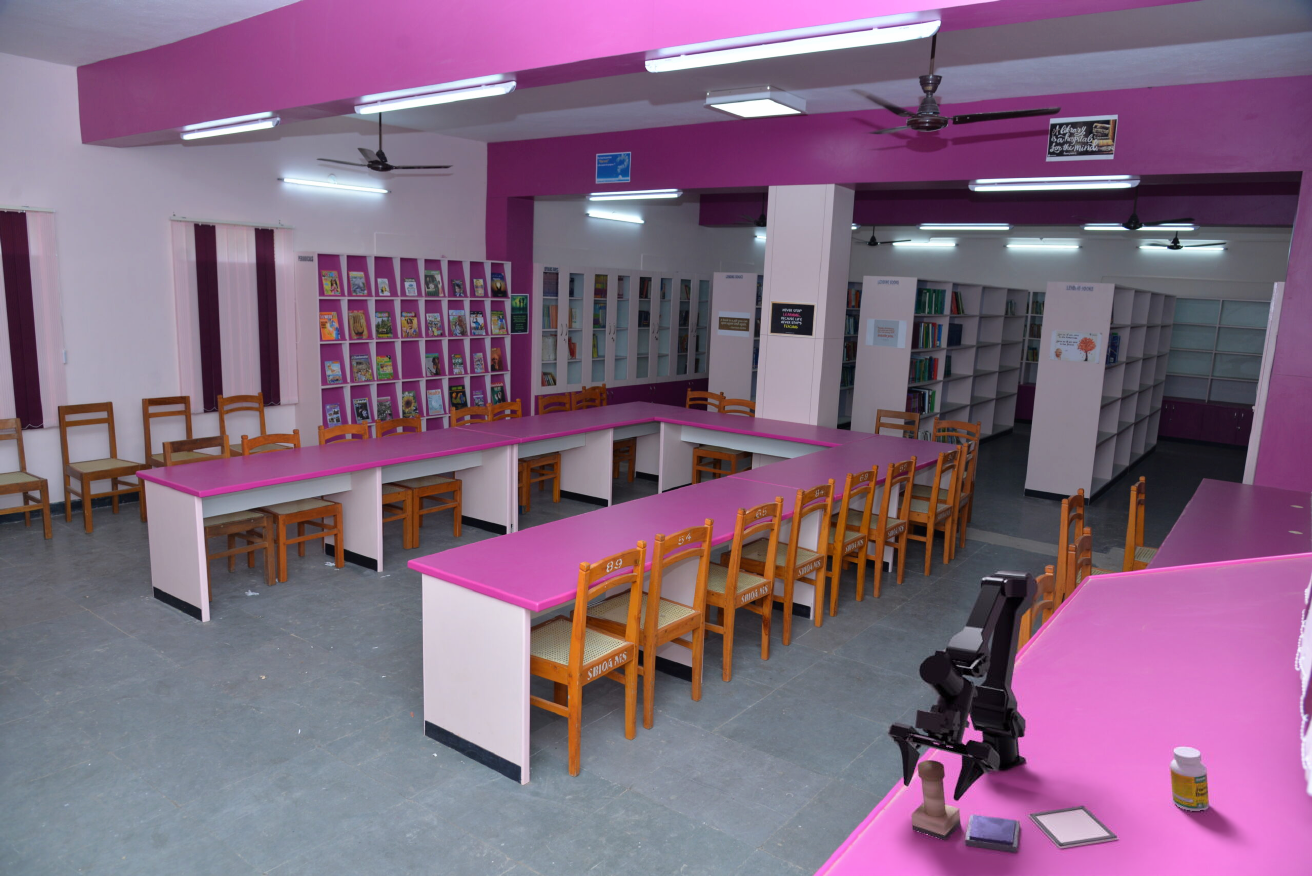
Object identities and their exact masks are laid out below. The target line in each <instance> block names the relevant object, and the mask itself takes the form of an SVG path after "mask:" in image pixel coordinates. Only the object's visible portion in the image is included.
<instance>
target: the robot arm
mask: <svg viewBox="0 0 1312 876" xmlns="http://www.w3.org/2000/svg"><path fill="white" fill-rule="evenodd" d="M1038 587H1039V586H1038V580H1037V579H1036V578H1033V575H1032V574H1031V573H1030V572H1026V571H1025V572H1024V571H1015V570H1014V571H1013V570H1004V569H1003V570H1002V569H1001V570H998V571H997V572H995V573H993V574H989V575H988V574H987V575H986V576H984V577H983V578H982V579H981V581H980V591H979V592H978V596H977V597H976V600H975V602H974V605H973V607H972V610H971V611H970V614H969V615H968V618H967V620H966V623H965V625H964V628H963V629H962V630H961V631H960V632H957V634H955V635H953V636H952V637H951V639H950V641H949V642H948V644H947V646H946V647H945V648H944V649H943V650H942V649H941V650H940V649H936V650H935V653H934V654H932V655H930V656H928V657H926V658H925V659H924V660H923V661H922V663H920V665H919V676H920V678H921V680H922V681H923V682H924V683H925V684H926V685H927V686H928V687H929V688H930V690H931V691H932V692H933V693H934V694H935V695H937V696H938V698H937V701H936V704H932V706H931V707H930V710H922V709H917V710H916V715H915V725H914V726H913V725H911V724H910V725H909V724H906V723H901V722H897V721H895V722H893V723H892V724H891V725H890V726H889V730H888V734H887V735H888V736H889V737H890V738H891V740H893V743H895V745H897V746H898V748H899V750H900V754H901V761H902V774H903V776H902V777H903V785H904V786H906V787H909V785H910V784H911V782H912V779H913V776H914V773H915V770H916V767H917V766H918V762H919V758H920V755H921V753H920V752H919V751H918V750H919V749H920V748H921V746H923V747H926V748H931V749H935V750H939V751H943V752H947V753H951V754H955V755H958V756H961V767H960V770H959V775H958V779H957V781H956V785H955V787H954V793H953V800H954V801H955V802H958V801H959V800H960V799H961V798H962V796H963V795H965V793H966V792H967V791H968V790H969V788H970V787H971V786H972V785H973V784H974V783H975V782H976V781H977V780H979V779H980V778H981V777H982V776H983V775H984V774H986V775H990V773H991V771H994V772H998V771H999V770H1000V771H1007V770H1009V769H1011V768H1013V767H1016V766H1018V765H1020V764H1022V763H1025V762H1027V759H1026V757H1025V756H1024V757H1023V756H1021V755H1020V750H1019V749H1020V748H1019V739H1018V738H1024V737H1025V735H1026V734H1025V732H1026V719H1025V718H1024V716H1022V714H1021V713H1020V712H1019V711H1018V700H1017V699H1016V696H1015V694H1014V692H1013V689H1012V683H1013V676H1014V669H1015V662H1016V656H1017V650H1018V645H1019V638H1020V630H1021V626H1022V625H1021V624H1022V618H1023V616H1025V614H1026V613H1027V612H1028V611H1029V610H1030V609H1031V608H1032V607H1033V605H1034V601H1035V600H1034V599H1035V596H1036V595H1037V593H1038ZM991 636H992V639H991ZM990 640H991V646H990V650H989V642H990ZM985 675H986V676H985ZM965 676H966V677H965ZM984 676H985V680H984V681H983V682H982V683H981V684H980V685H975V683H974V681H973V680H969V679H967V677H968V678H969V677H970V678H976V679H980V678H984ZM969 718H970V720H971V722H970V721H968V719H969ZM970 723H971V724H972V728H973V731H976V732H978V731H979V732H981V734H982V735H981V736H982V741H977V740H974V739H973V740H972V739H969V740H968V741H966V744H964V743H963V737H964V735H965V731H966V729H969V728H970V727H969V726H970ZM917 729H919V730H920V729H921V731H923V733H926V734H927V735H926V734H922V733H920V732H919V731H918V730H917Z"/></svg>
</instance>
